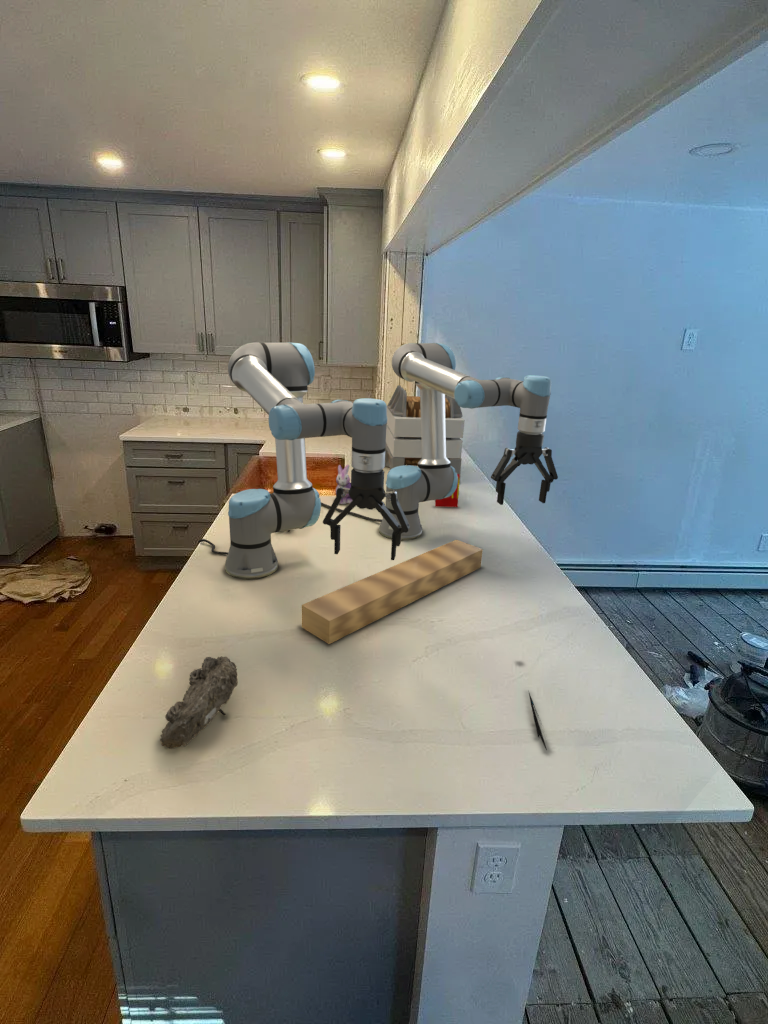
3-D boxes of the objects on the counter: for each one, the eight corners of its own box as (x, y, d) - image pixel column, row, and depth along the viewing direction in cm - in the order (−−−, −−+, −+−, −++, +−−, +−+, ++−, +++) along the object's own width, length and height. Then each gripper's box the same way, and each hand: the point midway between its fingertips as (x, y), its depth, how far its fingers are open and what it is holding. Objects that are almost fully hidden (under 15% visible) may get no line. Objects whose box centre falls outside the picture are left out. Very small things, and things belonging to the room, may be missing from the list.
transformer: (382, 463, 289) (386, 382, 275) (445, 464, 293) (451, 384, 279) (390, 482, 257) (394, 392, 243) (460, 483, 261) (468, 394, 247)
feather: (520, 667, 129) (525, 661, 129) (546, 754, 103) (553, 747, 102) (514, 663, 129) (519, 657, 129) (538, 750, 103) (545, 742, 102)
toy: (452, 465, 253) (463, 475, 224) (451, 495, 256) (461, 508, 227) (425, 464, 253) (433, 474, 224) (424, 494, 256) (431, 507, 226)
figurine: (339, 506, 224) (340, 469, 219) (329, 498, 233) (330, 463, 228) (361, 503, 228) (362, 467, 223) (350, 496, 237) (351, 461, 232)
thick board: (454, 557, 183) (456, 539, 181) (480, 567, 177) (482, 549, 174) (301, 627, 139) (301, 604, 137) (329, 644, 133) (329, 621, 131)
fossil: (187, 658, 118) (238, 626, 113) (219, 688, 121) (270, 658, 116) (136, 742, 99) (195, 708, 94) (175, 775, 101) (234, 744, 96)
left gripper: (309, 468, 126) (309, 555, 133) (421, 478, 123) (415, 567, 130) (318, 460, 133) (318, 543, 140) (424, 469, 130) (418, 554, 137)
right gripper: (495, 435, 154) (487, 508, 162) (577, 434, 160) (565, 505, 167) (484, 429, 161) (477, 499, 168) (563, 429, 167) (552, 497, 174)
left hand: (365, 555), depth 135 cm, fingers open, 13 cm apart
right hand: (521, 502), depth 168 cm, fingers open, 13 cm apart
